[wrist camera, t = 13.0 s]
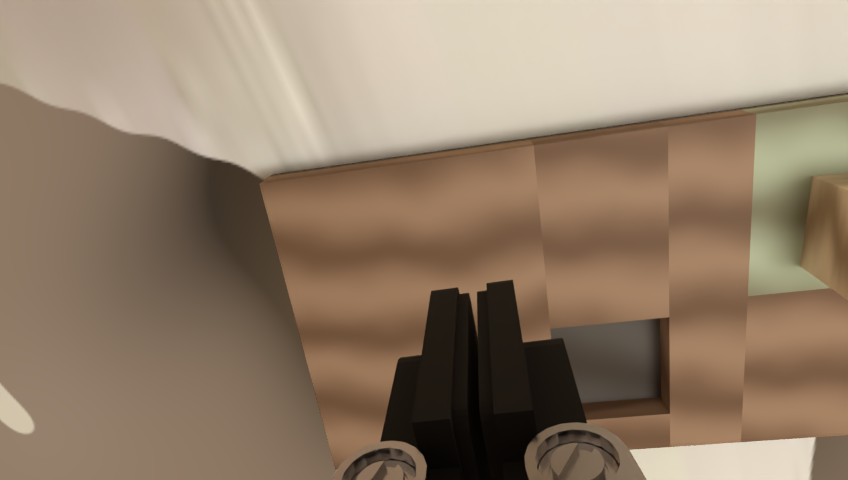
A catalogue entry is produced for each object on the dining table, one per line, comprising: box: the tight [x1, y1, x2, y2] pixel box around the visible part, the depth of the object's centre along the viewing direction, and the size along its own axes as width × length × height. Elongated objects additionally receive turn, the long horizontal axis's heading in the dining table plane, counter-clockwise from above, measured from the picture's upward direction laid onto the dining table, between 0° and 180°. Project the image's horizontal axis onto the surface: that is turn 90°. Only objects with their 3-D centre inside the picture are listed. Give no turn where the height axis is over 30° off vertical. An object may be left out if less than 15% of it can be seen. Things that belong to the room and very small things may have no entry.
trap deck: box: [259, 93, 848, 469], centre depth 38 cm, size 24×52×2 cm, turn 99°
